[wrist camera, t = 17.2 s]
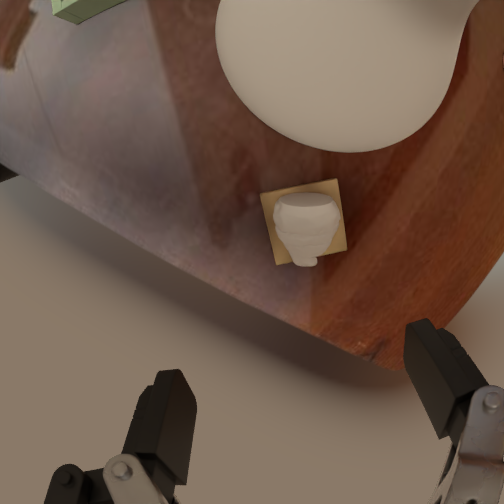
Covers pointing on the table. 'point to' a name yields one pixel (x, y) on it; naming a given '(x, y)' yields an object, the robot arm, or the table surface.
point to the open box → (80, 8)
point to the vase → (341, 65)
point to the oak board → (322, 187)
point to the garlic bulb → (306, 225)
